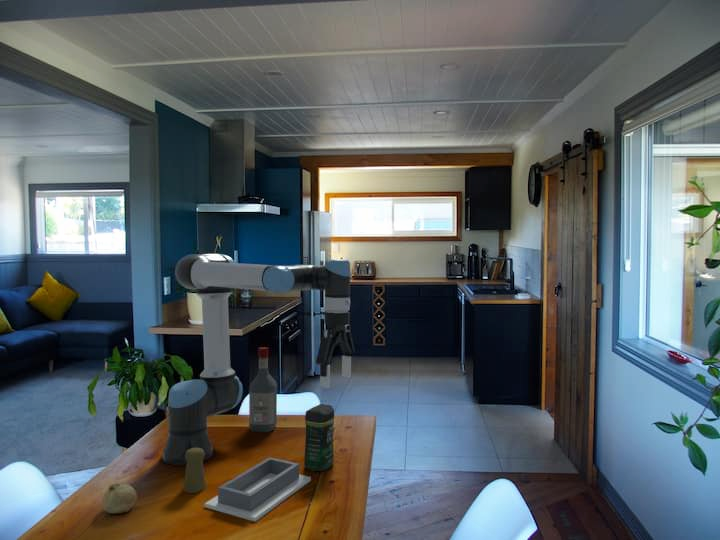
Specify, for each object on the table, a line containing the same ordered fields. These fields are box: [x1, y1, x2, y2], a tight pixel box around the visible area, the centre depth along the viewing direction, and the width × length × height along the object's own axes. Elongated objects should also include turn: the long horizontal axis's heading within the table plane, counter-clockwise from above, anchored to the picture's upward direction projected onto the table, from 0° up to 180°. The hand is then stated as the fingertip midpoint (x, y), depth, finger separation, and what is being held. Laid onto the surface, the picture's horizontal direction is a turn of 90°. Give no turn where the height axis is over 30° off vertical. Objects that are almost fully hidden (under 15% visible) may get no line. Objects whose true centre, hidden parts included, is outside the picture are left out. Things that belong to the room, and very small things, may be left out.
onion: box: [101, 482, 138, 515], centre depth 134 cm, size 8×8×7 cm
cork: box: [183, 448, 207, 494], centre depth 146 cm, size 6×6×11 cm
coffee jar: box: [303, 403, 335, 472], centre depth 162 cm, size 10×8×19 cm
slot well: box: [204, 457, 312, 523], centre depth 144 cm, size 26×16×5 cm, turn 154°
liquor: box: [248, 346, 278, 433], centre depth 196 cm, size 9×9×30 cm
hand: (335, 382), depth 158 cm, fingers open, 13 cm apart
